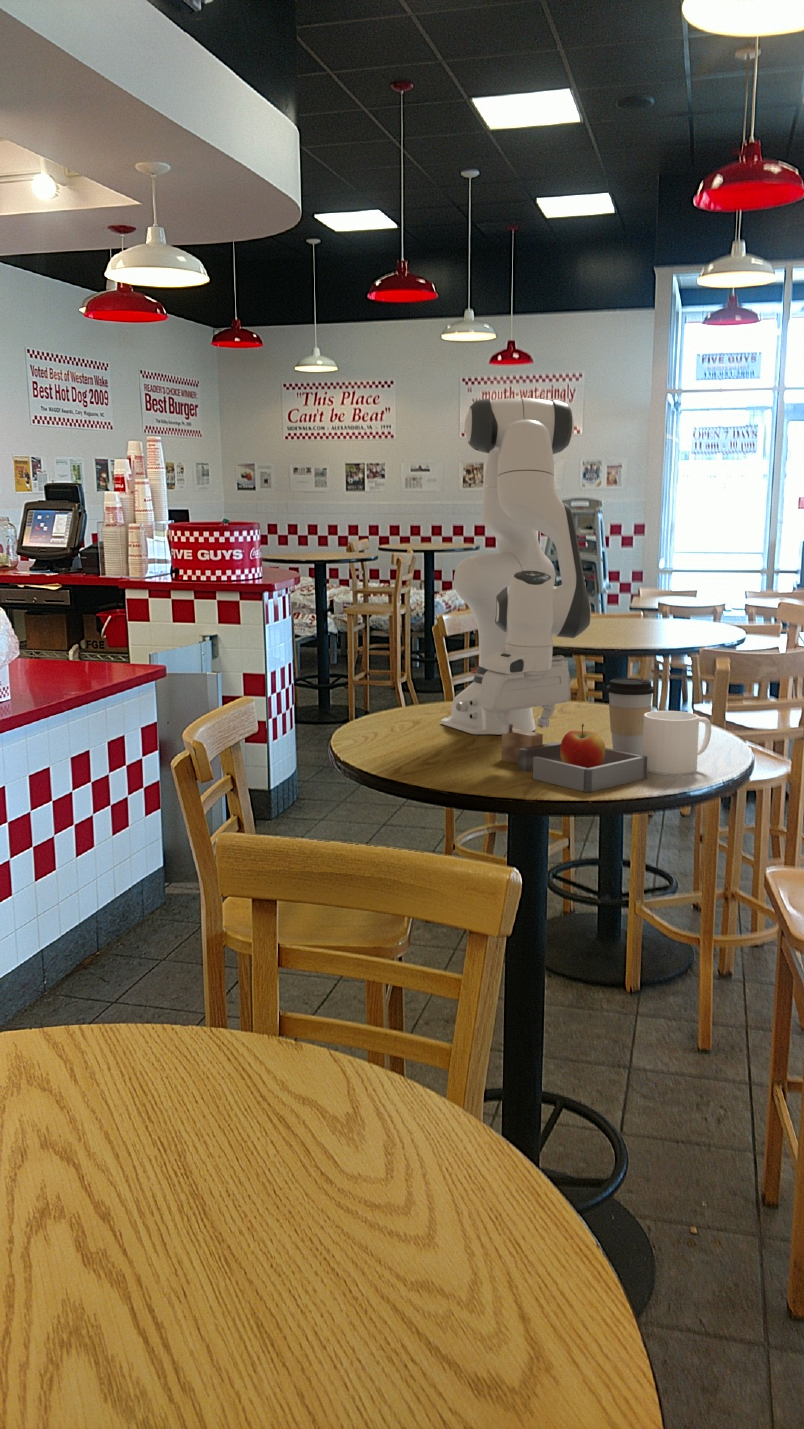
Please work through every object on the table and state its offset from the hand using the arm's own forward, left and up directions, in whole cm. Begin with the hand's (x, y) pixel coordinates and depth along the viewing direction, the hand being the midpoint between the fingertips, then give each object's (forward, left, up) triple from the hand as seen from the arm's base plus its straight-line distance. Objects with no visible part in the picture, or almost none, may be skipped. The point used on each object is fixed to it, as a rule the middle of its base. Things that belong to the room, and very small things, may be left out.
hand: (524, 730), depth 204 cm
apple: (+14, 0, -7) cm, 16 cm away
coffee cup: (+9, +20, -7) cm, 23 cm away
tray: (+16, 0, -7) cm, 17 cm away
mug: (+22, +18, -7) cm, 29 cm away
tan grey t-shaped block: (-1, 0, -7) cm, 7 cm away
